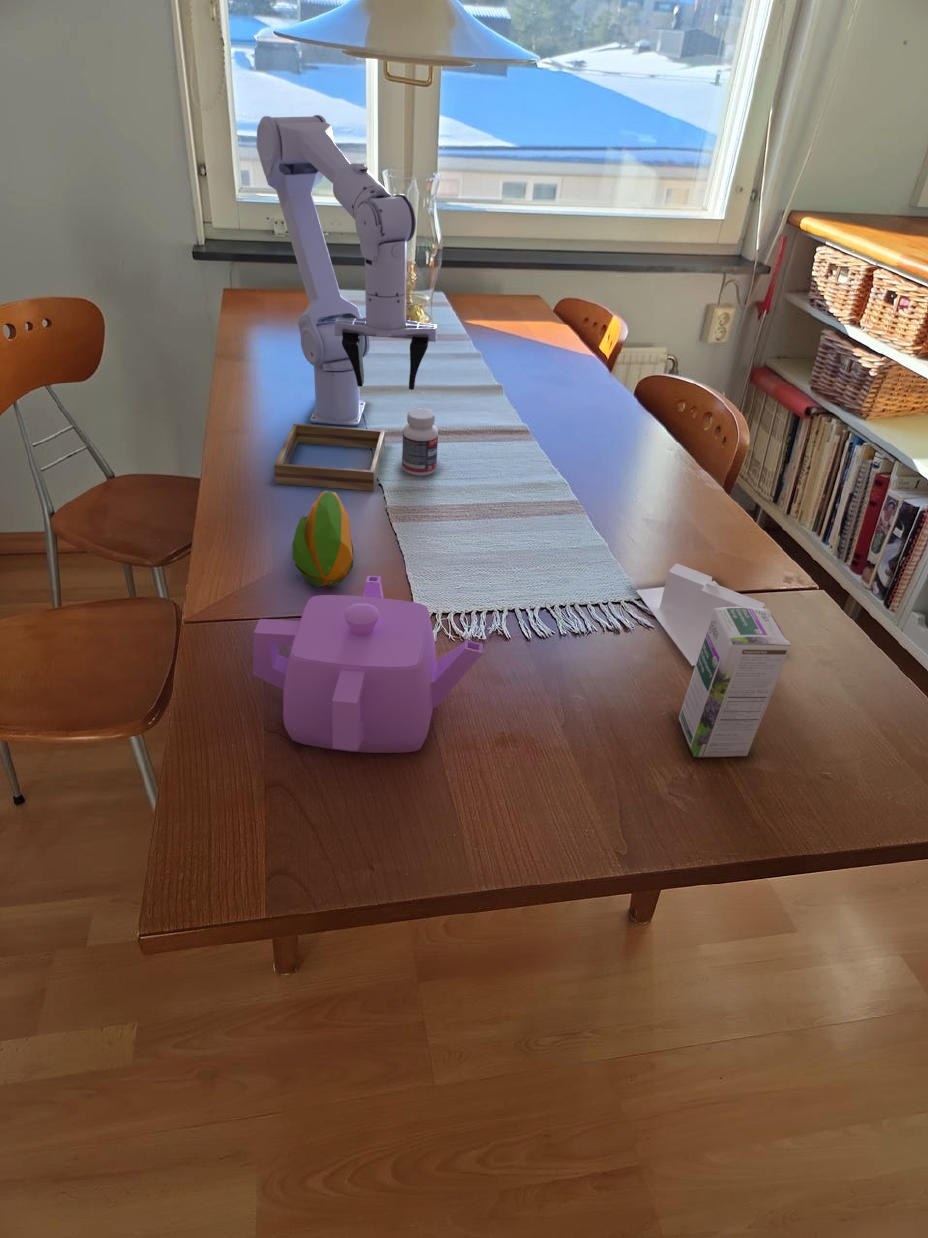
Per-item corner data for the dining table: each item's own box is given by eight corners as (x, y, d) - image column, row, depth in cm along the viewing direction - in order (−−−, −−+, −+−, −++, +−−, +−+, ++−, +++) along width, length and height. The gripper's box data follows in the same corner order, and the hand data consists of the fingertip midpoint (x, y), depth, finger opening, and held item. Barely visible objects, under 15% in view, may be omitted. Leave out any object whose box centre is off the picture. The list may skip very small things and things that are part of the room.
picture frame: (294, 441, 133) (293, 423, 131) (384, 447, 133) (385, 430, 131) (275, 483, 121) (273, 465, 120) (373, 491, 121) (373, 472, 120)
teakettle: (245, 701, 85) (232, 602, 78) (377, 636, 95) (377, 542, 87) (346, 801, 76) (343, 700, 68) (482, 718, 85) (492, 621, 78)
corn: (289, 547, 94) (297, 464, 110) (289, 602, 99) (296, 515, 114) (356, 550, 95) (354, 468, 111) (353, 604, 100) (351, 518, 116)
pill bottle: (431, 478, 126) (434, 423, 120) (397, 473, 126) (398, 417, 121) (439, 463, 130) (442, 408, 124) (407, 458, 130) (408, 403, 125)
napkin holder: (780, 653, 97) (794, 613, 94) (692, 666, 94) (704, 626, 91) (714, 580, 108) (725, 542, 105) (634, 590, 105) (642, 551, 102)
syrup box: (676, 718, 87) (709, 605, 78) (731, 717, 88) (770, 605, 79) (692, 758, 83) (730, 643, 74) (750, 758, 83) (794, 643, 75)
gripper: (329, 296, 115) (333, 392, 123) (435, 302, 115) (432, 398, 123) (337, 282, 121) (341, 375, 129) (438, 288, 121) (435, 381, 129)
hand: (386, 385), depth 126 cm, fingers open, 7 cm apart
